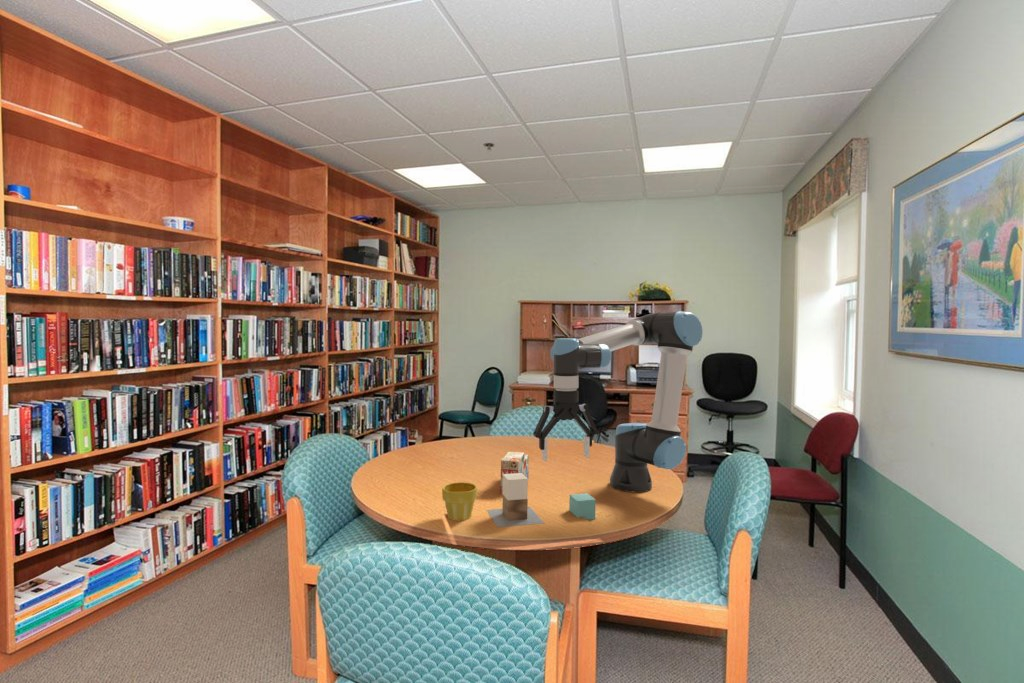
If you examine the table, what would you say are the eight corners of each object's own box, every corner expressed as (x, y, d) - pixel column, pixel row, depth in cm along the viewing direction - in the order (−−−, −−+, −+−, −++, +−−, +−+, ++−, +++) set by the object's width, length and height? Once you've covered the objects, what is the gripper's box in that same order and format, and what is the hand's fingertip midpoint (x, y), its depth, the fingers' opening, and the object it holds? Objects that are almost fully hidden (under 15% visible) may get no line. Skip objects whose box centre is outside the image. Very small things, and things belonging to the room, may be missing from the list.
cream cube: (521, 492, 155) (521, 473, 155) (527, 498, 149) (527, 478, 149) (502, 493, 154) (502, 474, 153) (507, 500, 148) (508, 480, 148)
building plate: (529, 509, 160) (529, 506, 160) (544, 526, 147) (544, 522, 147) (486, 513, 156) (486, 510, 156) (497, 530, 143) (497, 527, 143)
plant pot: (435, 517, 152) (436, 485, 152) (465, 510, 158) (466, 479, 158) (452, 528, 144) (452, 494, 144) (483, 521, 150) (483, 488, 150)
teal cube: (586, 512, 159) (587, 493, 159) (595, 519, 154) (595, 499, 153) (569, 513, 158) (569, 494, 157) (577, 521, 152) (577, 501, 152)
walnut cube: (521, 511, 155) (521, 492, 155) (527, 519, 150) (527, 498, 149) (502, 513, 154) (502, 493, 154) (507, 520, 148) (508, 500, 148)
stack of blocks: (512, 477, 195) (513, 445, 195) (528, 478, 194) (529, 446, 194) (500, 495, 174) (500, 459, 174) (517, 496, 173) (518, 460, 173)
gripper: (598, 386, 160) (598, 452, 161) (523, 389, 154) (523, 458, 155) (609, 389, 153) (608, 458, 154) (530, 392, 147) (530, 464, 148)
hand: (565, 458), depth 154 cm, fingers open, 13 cm apart
